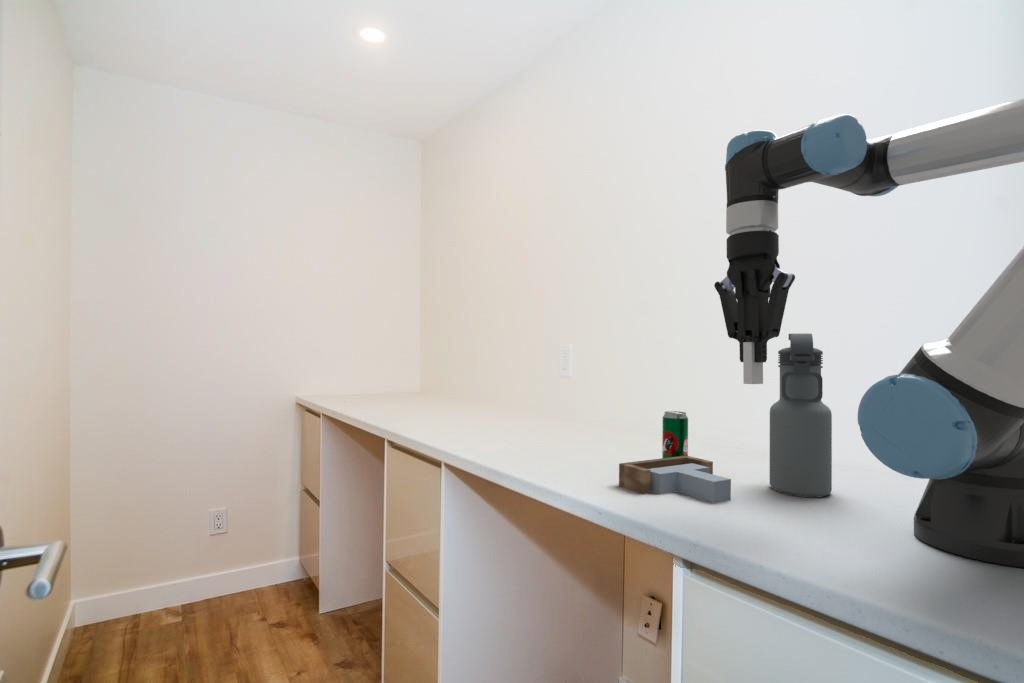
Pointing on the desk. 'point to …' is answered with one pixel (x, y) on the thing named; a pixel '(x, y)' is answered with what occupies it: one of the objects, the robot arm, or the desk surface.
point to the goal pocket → (639, 473)
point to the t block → (690, 482)
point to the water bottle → (801, 424)
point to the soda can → (675, 434)
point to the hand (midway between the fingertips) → (753, 383)
